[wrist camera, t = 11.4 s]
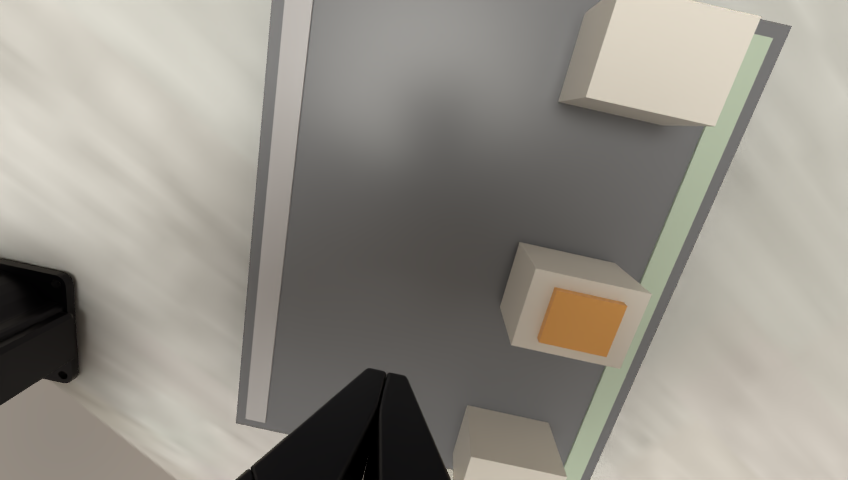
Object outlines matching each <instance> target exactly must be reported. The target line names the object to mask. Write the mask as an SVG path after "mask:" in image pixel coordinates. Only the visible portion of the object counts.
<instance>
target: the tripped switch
mask: <svg viewBox="0 0 848 480" xmlns="http://www.w3.org/2000/svg"><path fill="white" fill-rule="evenodd" d="M651 296H652V294H651V293H650V292H649V291H648V290H647V289H645V288H644V287H643V286H642V285H641V284H639V283H638V282H637V281H636V280H635V279H633V278H632V277H631V276H630V275H629V274H627V273H626V272H625V271H624V270H623V269H621V268H620V267H619V266H618V265H617V264H615V263H612V262H608V261H603V260H599V259H594V258H590V257H585V256H581V255H576V254H572V253H567V252H563V251H558V250H554V249H549V248H545V247H540V246H536V245H531V244H527V243H522V242H519V245H518V249H517V252H516V255H515V259H514V262H513V265H512V269H511V272H510V275H509V279H508V282H507V285H506V288H505V292H504V295H503V298H502V302H501V305H500V309H501V312H502V316H503V319H504V323H505V326H506V329H507V333H508V336H509V340H510V343H511V345H513V346H517V347H522V348H526V349H531V350H536V351H540V352H545V353H549V354H554V355H558V356H563V357H568V358H572V359H577V360H581V361H586V362H590V363H595V364H600V365H604V366H609V367H613V368H618V369H620V368H621V366H622V363H623V361H624V359H625V356H626V354H627V352H628V349H629V347H630V345H631V342H632V340H633V338H634V335H635V333H636V331H637V328H638V326H639V324H640V321H641V319H642V317H643V314H644V312H645V310H646V307H647V305H648V303H649V300H650V298H651Z"/></svg>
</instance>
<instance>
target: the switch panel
mask: <svg viewBox="0 0 848 480" xmlns="http://www.w3.org/2000/svg"><path fill="white" fill-rule="evenodd" d="M791 27H792V26H788V25H784V24H780V23H775V22H771V21H766V20H762V19H761V16H757V15H753V14H748V13H744V12H740V11H735V10H731V9H727V8H722V7H718V6H713V5H709V4H705V3H700V2H696V1H692V0H272V5H271V17H270V29H269V41H268V52H267V64H266V76H265V88H264V99H263V111H262V123H261V135H260V146H259V158H258V170H257V182H256V194H255V205H254V217H253V229H252V241H251V252H250V264H249V276H248V288H247V299H246V311H245V323H244V335H243V346H242V358H241V370H240V382H239V394H238V405H237V417H236V423H238V424H242V425H247V426H252V427H256V428H261V429H266V430H270V431H275V432H280V433H284V434H290V433H291V432H292V431H294V430H295V429H296V428H297V427H298V426H299V425H301V424H302V423H303V422H304V421H305V420H307V419H308V418H309V417H310V416H311V415H312V414H314V413H315V412H316V411H317V410H318V409H319V408H321V407H322V406H323V405H324V404H325V403H326V402H328V401H329V400H330V399H331V398H332V397H334V396H335V395H336V394H337V393H338V392H339V391H341V390H342V389H343V388H344V387H345V386H346V385H348V384H349V383H350V382H351V381H352V380H354V379H355V378H356V377H357V376H358V375H359V374H361V373H362V372H363V371H364V370H365V369H367V368H373V369H378V370H382V371H385V372H386V375H387V374H388V373H389V372H391V373H396V374H401V375H405V376H406V377H407V378H408V381H409V383H410V385H411V388H412V390H413V392H414V395H415V397H416V399H417V402H418V404H419V406H420V409H421V411H422V413H423V416H424V418H425V420H426V423H427V425H428V427H429V430H430V432H431V434H432V437H433V439H434V441H435V444H436V446H437V448H438V451H439V453H440V455H441V458H442V460H443V462H444V465H445V467H446V468H447V469H452V470H453V480H590V478H591V476H592V474H593V471H594V469H595V467H596V465H597V462H598V460H599V458H600V456H601V453H602V451H603V449H604V447H605V444H606V442H607V440H608V438H609V435H610V433H611V431H612V429H613V426H614V424H615V422H616V420H617V417H618V415H619V413H620V411H621V408H622V406H623V404H624V402H625V400H626V397H627V395H628V393H629V391H630V388H631V386H632V384H633V382H634V379H635V377H636V375H637V373H638V370H639V368H640V366H641V364H642V361H643V359H644V357H645V355H646V352H647V350H648V348H649V346H650V343H651V341H652V339H653V337H654V334H655V332H656V330H657V328H658V325H659V323H660V321H661V319H662V316H663V314H664V312H665V310H666V307H667V305H668V303H669V301H670V298H671V296H672V294H673V292H674V289H675V287H676V285H677V283H678V280H679V278H680V276H681V274H682V272H683V269H684V267H685V265H686V263H687V260H688V258H689V256H690V254H691V251H692V249H693V247H694V245H695V242H696V240H697V238H698V236H699V233H700V231H701V229H702V227H703V224H704V222H705V220H706V218H707V215H708V213H709V211H710V209H711V206H712V204H713V202H714V200H715V197H716V195H717V193H718V191H719V188H720V186H721V184H722V182H723V179H724V177H725V175H726V173H727V170H728V168H729V166H730V164H731V161H732V159H733V157H734V155H735V152H736V150H737V148H738V146H739V144H740V141H741V139H742V137H743V135H744V132H745V130H746V128H747V126H748V123H749V121H750V119H751V117H752V114H753V112H754V110H755V108H756V105H757V103H758V101H759V99H760V96H761V94H762V92H763V90H764V87H765V85H766V83H767V81H768V78H769V76H770V74H771V72H772V69H773V67H774V65H775V63H776V60H777V58H778V56H779V54H780V51H781V49H782V47H783V45H784V42H785V40H786V38H787V36H788V33H789V31H790V29H791ZM519 242H522V243H527V244H531V245H536V246H540V247H545V248H549V249H554V250H558V251H563V252H567V253H572V254H576V255H581V256H585V257H590V258H594V259H599V260H603V261H608V262H612V263H615V264H617V265H618V266H619V267H620V268H621V269H623V270H624V271H625V272H626V273H627V274H629V275H630V276H631V277H632V278H633V279H635V280H636V281H637V282H638V283H639V284H641V285H642V286H643V287H644V288H645V289H647V290H648V291H649V292H650V293H651V294H652V296H651V298H650V300H649V303H648V305H647V307H646V310H645V312H644V314H643V317H642V319H641V321H640V324H639V326H638V328H637V331H636V333H635V335H634V338H633V340H632V342H631V345H630V347H629V349H628V352H627V354H626V356H625V359H624V361H623V363H622V366H621V368H620V369H618V368H613V367H609V366H604V365H600V364H595V363H590V362H586V361H581V360H577V359H572V358H568V357H563V356H558V355H554V354H549V353H545V352H540V351H536V350H531V349H526V348H522V347H517V346H513V345H511V343H510V340H509V336H508V333H507V329H506V326H505V323H504V319H503V316H502V312H501V309H500V305H501V302H502V298H503V295H504V292H505V288H506V285H507V282H508V279H509V275H510V272H511V269H512V265H513V262H514V259H515V255H516V252H517V249H518V245H519Z"/></svg>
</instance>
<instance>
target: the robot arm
mask: <svg viewBox="0 0 848 480" xmlns="http://www.w3.org/2000/svg"><path fill="white" fill-rule="evenodd" d="M59 282H60V283H59ZM78 373H79V371H78V355H77V339H76V323H75V307H74V290H73V281H72V279H71V277H70V276H69V275H68V274H66V273H64V272H60V271H55V270H50V269H46V268H41V267H37V266H32V265H27V264H23V263H18V262H14V261H9V260H5V259H0V405H2V404H3V403H5V402H6V401H8V400H9V399H11V398H13V397H14V396H16V395H17V394H19V393H20V392H22V391H23V390H25V389H27V388H28V387H30V386H31V385H33V384H34V383H36V382H38V381H39V380H41V379H42V378H43V379H48V380H52V381H57V382H62V383H68V382H70V381H72V380H73V379H75V378H76V377H77V376H78ZM367 458H368V459H367ZM365 467H366V468H365ZM364 471H365V473H364ZM363 476H364V477H363ZM236 480H451V479H450V476H449V474H448V472H447V469H446V467H445V465H444V462H443V460H442V458H441V455H440V453H439V451H438V448H437V446H436V444H435V441H434V439H433V437H432V434H431V432H430V430H429V427H428V425H427V423H426V420H425V418H424V416H423V413H422V411H421V409H420V406H419V404H418V402H417V399H416V397H415V395H414V392H413V390H412V388H411V385H410V383H409V381H408V378H407V377H406V376H405V375H401V374H396V373H391V372H389V373H388V374H387V375H386V372H385V371H382V370H378V369H373V368H367V369H365V370H364V371H363V372H362V373H361V374H359V375H358V376H357V377H356V378H355V379H354V380H352V381H351V382H350V383H349V384H348V385H346V386H345V387H344V388H343V389H342V390H341V391H339V392H338V393H337V394H336V395H335V396H334V397H332V398H331V399H330V400H329V401H328V402H326V403H325V404H324V405H323V406H322V407H321V408H319V409H318V410H317V411H316V412H315V413H314V414H312V415H311V416H310V417H309V418H308V419H307V420H305V421H304V422H303V423H302V424H301V425H299V426H298V427H297V428H296V429H295V430H294V431H292V432H291V433H290V434H289V435H288V436H287V437H285V438H284V439H283V440H282V441H281V442H279V443H278V444H277V445H276V446H275V447H274V448H272V449H271V450H270V451H269V452H268V453H267V454H265V455H264V456H263V457H262V458H261V459H260V460H258V461H257V462H256V463H255V464H254V465H252V467H251V470H250V469H248V470H246V471H245V472H244V473H243V474H242V475H240V476H239V477H238V478H237V479H236Z"/></svg>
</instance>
